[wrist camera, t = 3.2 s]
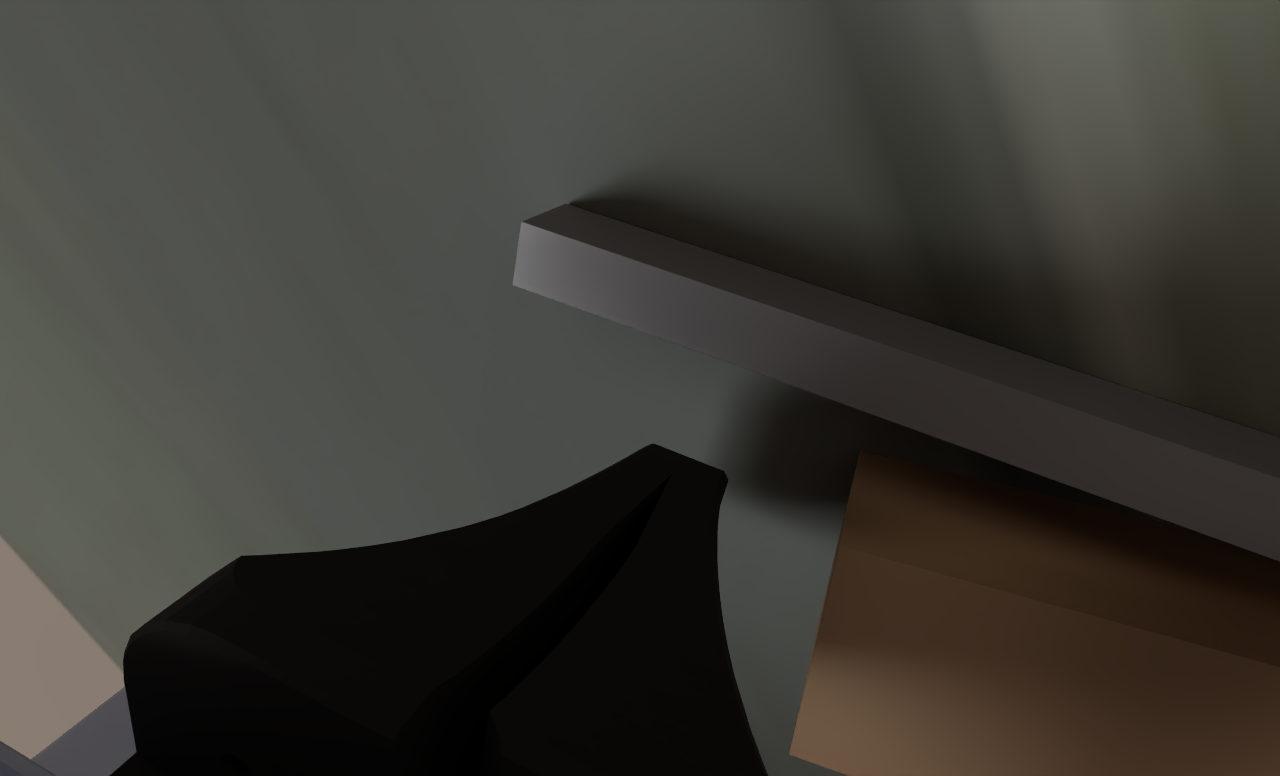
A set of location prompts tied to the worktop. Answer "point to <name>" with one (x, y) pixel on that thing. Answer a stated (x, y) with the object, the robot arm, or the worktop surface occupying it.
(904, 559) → the brown rectangular block
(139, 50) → the worktop surface
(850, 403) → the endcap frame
